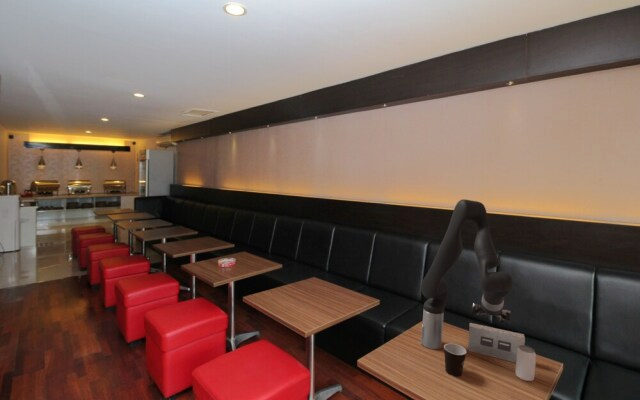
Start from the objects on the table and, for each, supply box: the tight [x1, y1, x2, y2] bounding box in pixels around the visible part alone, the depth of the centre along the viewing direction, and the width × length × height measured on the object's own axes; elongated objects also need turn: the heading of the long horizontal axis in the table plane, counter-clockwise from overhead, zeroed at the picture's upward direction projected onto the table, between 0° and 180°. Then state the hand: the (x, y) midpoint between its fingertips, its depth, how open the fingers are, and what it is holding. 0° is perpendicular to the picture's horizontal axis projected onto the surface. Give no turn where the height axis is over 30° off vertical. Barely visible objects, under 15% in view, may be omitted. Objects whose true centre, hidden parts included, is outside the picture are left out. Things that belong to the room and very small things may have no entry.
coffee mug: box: [443, 343, 467, 378], centre depth 130 cm, size 12×9×10 cm
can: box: [515, 344, 537, 382], centre depth 127 cm, size 6×6×12 cm
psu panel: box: [467, 322, 526, 364], centre depth 142 cm, size 22×4×12 cm, turn 63°
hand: (489, 318), depth 135 cm, fingers open, 8 cm apart
